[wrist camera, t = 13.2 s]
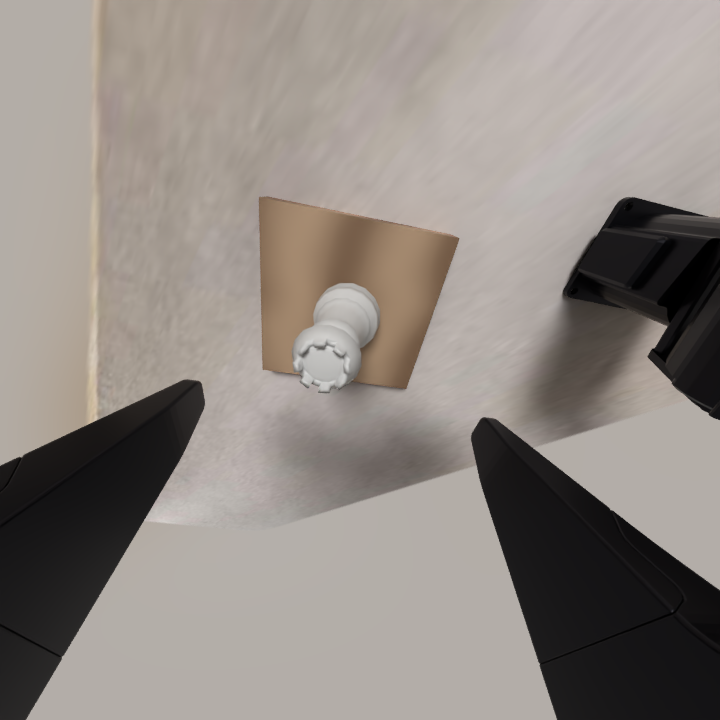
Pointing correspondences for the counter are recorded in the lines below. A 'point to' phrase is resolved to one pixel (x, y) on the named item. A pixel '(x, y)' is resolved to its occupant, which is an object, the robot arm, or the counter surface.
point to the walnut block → (349, 281)
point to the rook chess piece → (336, 337)
